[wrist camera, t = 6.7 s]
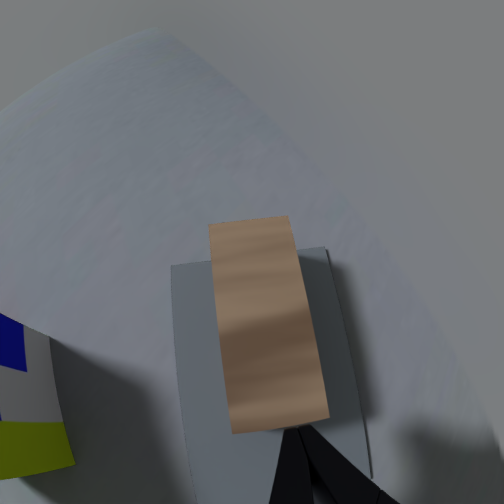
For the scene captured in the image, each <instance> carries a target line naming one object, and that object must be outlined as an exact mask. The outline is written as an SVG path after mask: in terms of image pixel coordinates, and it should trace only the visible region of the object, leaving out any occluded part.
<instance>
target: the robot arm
mask: <svg viewBox="0 0 504 504" xmlns="http://www.w3.org/2000/svg"><path fill="white" fill-rule="evenodd" d="M269 504H400V503H398V502H397V501H396V500H394V499H393V498H392V497H390V496H389V495H388V494H387V493H386V492H384V491H383V490H380V488H379V487H378V486H377V485H376V484H375V483H374V482H372V481H371V480H370V479H369V478H368V477H367V476H366V475H364V474H363V473H362V472H361V471H360V470H359V469H358V468H356V467H355V466H354V465H353V464H352V463H351V462H350V461H349V460H348V459H347V458H345V457H344V456H343V455H342V454H341V453H340V452H339V451H338V450H337V449H336V448H335V447H334V446H333V445H332V444H331V443H330V442H328V441H327V440H326V439H325V438H324V437H323V436H322V435H321V434H320V433H319V432H318V431H317V430H316V429H315V428H314V427H313V426H312V425H311V424H306V425H301V426H298V427H290V428H285V429H284V431H283V436H282V442H281V447H280V452H279V457H278V462H277V467H276V472H275V477H274V481H273V486H272V491H271V495H270V500H269Z"/></svg>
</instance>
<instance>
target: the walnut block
mask: <svg viewBox="0 0 504 504" xmlns="http://www.w3.org/2000/svg"><path fill="white" fill-rule="evenodd" d="M209 238H210V250H211V262H212V273H213V284H214V294H215V304H216V314H217V323H218V332H219V341H220V349H221V357H222V365H223V373H224V381H225V388H226V396H227V403H228V410H229V417H230V423H231V430H232V434H241V433H249V432H257V431H264V430H271V429H277V428H283V427H289V426H294V425H299V424H304V423H309V422H313V421H318V420H322V419H326V418H330V416H329V410H328V404H327V398H326V392H325V386H324V381H323V375H322V370H321V364H320V359H319V354H318V349H317V344H316V339H315V334H314V329H313V324H312V319H311V314H310V309H309V305H308V300H307V295H306V291H305V286H304V282H303V277H302V273H301V268H300V264H299V259H298V255H297V251H296V247H295V242H294V238H293V234H292V230H291V226H290V222H289V218H288V216H279V217H270V218H261V219H252V220H243V221H234V222H226V223H218V224H210V225H209Z"/></svg>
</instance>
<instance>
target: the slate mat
mask: <svg viewBox="0 0 504 504" xmlns="http://www.w3.org/2000/svg"><path fill="white" fill-rule="evenodd" d="M296 251H297V255H298V259H299V264H300V268H301V273H302V277H303V282H304V286H305V291H306V295H307V300H308V305H309V309H310V314H311V319H312V324H313V329H314V334H315V339H316V344H317V349H318V354H319V359H320V364H321V370H322V375H323V381H324V386H325V392H326V398H327V404H328V410H329V416H330V418H326V419H322V420H318V421H313V422H309V423H304V424H299V425H294V426H289V427H283V428H277V429H271V430H264V431H257V432H249V433H241V434H232V430H231V423H230V417H229V410H228V403H227V396H226V388H225V381H224V373H223V365H222V357H221V349H220V341H219V332H218V323H217V314H216V304H215V294H214V284H213V273H212V262H211V261H204V262H196V263H187V264H179V265H171V290H172V312H173V329H174V344H175V356H176V367H177V378H178V387H179V396H180V404H181V412H182V420H183V427H184V434H185V441H186V447H187V453H188V459H189V465H190V470H191V476H192V481H193V486H194V491H195V496H196V500H197V504H269V500H270V495H271V491H272V486H273V481H274V477H275V472H276V467H277V462H278V457H279V452H280V447H281V442H282V436H283V431H284V429H285V428H290V427H298V426H301V425H306V424H311V425H312V426H313V427H314V428H315V429H316V430H317V431H318V432H319V433H320V434H321V435H322V436H323V437H324V438H325V439H326V440H327V441H328V442H330V443H331V444H332V445H333V446H334V447H335V448H336V449H337V450H338V451H339V452H340V453H341V454H342V455H343V456H344V457H345V458H347V459H348V460H349V461H350V462H351V463H352V464H353V465H354V466H355V467H356V468H358V469H359V470H360V471H361V472H362V473H363V474H364V475H366V476H367V477H368V478H369V479H370V480H371V476H370V467H369V459H368V451H367V443H366V436H365V429H364V423H363V417H362V410H361V404H360V399H359V393H358V387H357V382H356V377H355V372H354V367H353V362H352V357H351V352H350V347H349V342H348V338H347V333H346V329H345V324H344V320H343V316H342V312H341V307H340V303H339V299H338V295H337V291H336V287H335V283H334V279H333V276H332V272H331V268H330V264H329V261H328V257H327V253H326V250H325V247H318V248H310V249H302V250H296Z"/></svg>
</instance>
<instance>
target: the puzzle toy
mask: <svg viewBox="0 0 504 504" xmlns="http://www.w3.org/2000/svg"><path fill="white" fill-rule="evenodd" d="M73 465H76V463H75V460H74V457H73V454H72V451H71V448H70V445H69V441H68V438H67V434H66V430H65V426H64V422H63V418H62V414H61V410H60V405H59V401H58V396H57V390H56V385H55V379H54V373H53V366H52V359H51V351H50V341H49V336H47V335H45V334H42V333H40V332H38V331H36V330H34V329H31V328H29V327H27V326H25V325H23V324H21V323H19V322H17V321H15V320H13V319H11V318H9V317H7V316H5V315H3V314H1V313H0V480H4V479H11V478H17V477H23V476H29V475H34V474H39V473H44V472H48V471H53V470H57V469H61V468H65V467H69V466H73Z"/></svg>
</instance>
